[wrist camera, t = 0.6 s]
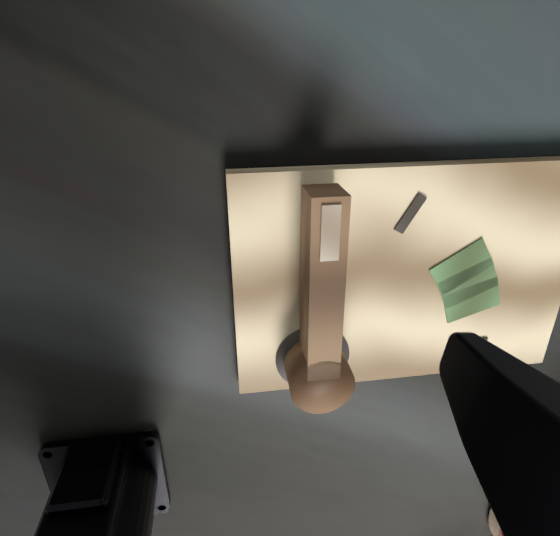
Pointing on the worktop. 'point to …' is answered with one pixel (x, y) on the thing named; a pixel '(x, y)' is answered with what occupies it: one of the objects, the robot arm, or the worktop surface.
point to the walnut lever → (321, 302)
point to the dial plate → (401, 262)
